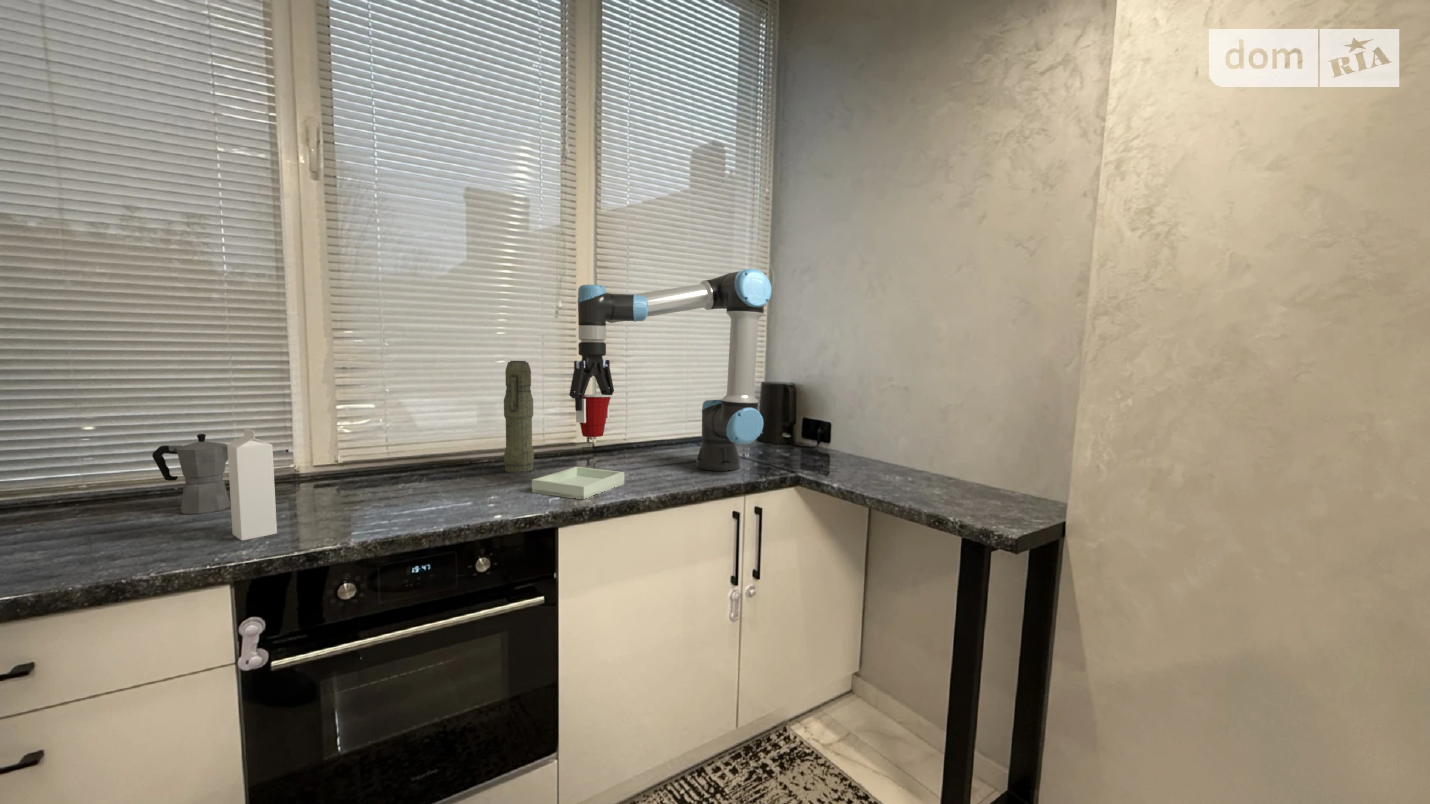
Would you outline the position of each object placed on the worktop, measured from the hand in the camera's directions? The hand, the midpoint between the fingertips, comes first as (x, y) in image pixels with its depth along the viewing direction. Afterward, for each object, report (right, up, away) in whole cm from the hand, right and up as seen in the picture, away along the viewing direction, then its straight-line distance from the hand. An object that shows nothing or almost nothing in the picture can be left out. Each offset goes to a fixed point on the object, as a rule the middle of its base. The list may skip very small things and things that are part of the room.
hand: (593, 420), depth 163 cm
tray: (-4, -19, +1) cm, 20 cm away
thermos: (-28, -17, +22) cm, 40 cm away
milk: (-61, -23, -43) cm, 78 cm away
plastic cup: (0, -5, 0) cm, 5 cm away
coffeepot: (-87, -21, -27) cm, 93 cm away
